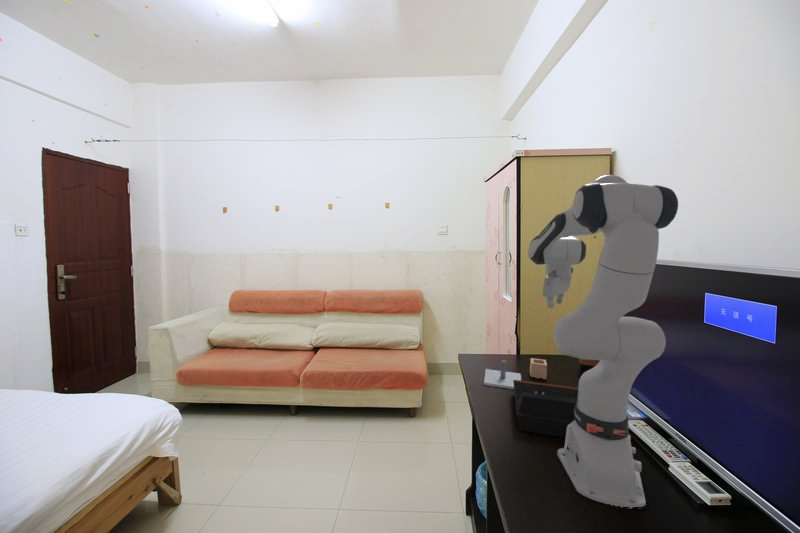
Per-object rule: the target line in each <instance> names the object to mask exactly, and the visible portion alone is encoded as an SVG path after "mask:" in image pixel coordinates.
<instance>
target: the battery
mask: <svg viewBox="0 0 800 533" xmlns="http://www.w3.org/2000/svg"><path fill="white" fill-rule="evenodd" d="M599 362H600V360H586V359H579V358H578V369H577V370H578V371H577V375H579V377H581V376H582V374H583V373H585V372H586V371H588V370H590V369H592V368H594V367H595V366H596V365H597V364H598V363H599Z"/></svg>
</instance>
